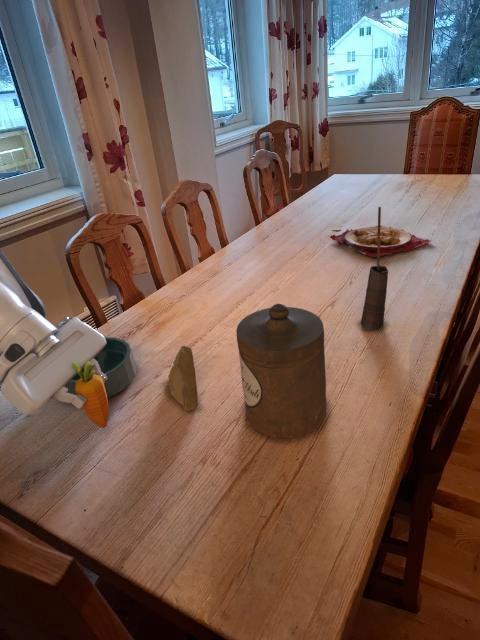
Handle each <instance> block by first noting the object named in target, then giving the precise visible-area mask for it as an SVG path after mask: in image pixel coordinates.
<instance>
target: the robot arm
mask: <svg viewBox="0 0 480 640" xmlns="http://www.w3.org/2000/svg"><path fill="white" fill-rule="evenodd" d="M105 337H106V336H104V335H103V334H102V333H100V332H99V331H97V330H96V329H94V327H92V326H90V325H89V324H87V323H86V322H84V321H82V320H80V319H79V318H78V317H76V316H64V317H63V318H61V319H60V321H58V322H56V323H55V324H54V325H53V323H51V322H50V321H49V320H48V319H47V311H46V307H45V304H44V302H43V301H42V300H41V298H40V297H39V296H38V295H37V294H36V292H34V291H33V290H32V289H31V288H30V287H29V286H28V285H27V284H26V282H25V281H24V280H23V279H22V277H21V276H20V274H19V272H17V270H16V269H15V267H14V266H13V265H12V264H11V262H10V261H9V259H8V258H7V256H6V255H5V254H4V253H3V251H2V250H1V249H0V392H1V394H2V395H3V397H4V399H6V400H7V401H8V402H9V403H10V404H11V405H12V406H13V407H15V408H16V410H18V411H19V412H20V413H21V414H22V415H25V416H34V415H36V414H37V413H38V412H39V411H40V410H41V409H42V408H43V407H44V406H45V405H46V404H47V403H48V402H49V401H51V400H52V399H53V398H54V399H55V400H57V401H58V402H62V403H67V404H72V405H73V406H74V407H76V409H78V410H79V409H82V406H83V405H84V404H85V403H86V401H87V398H86V397H84V396H83V395H82V394H81V393H80V394H79V395H74V394H70V393H67V391H68V389H66V388H65V387H64V386H65V385H66V384H67V383H68V382H69V381H70V380H71V379H72V378H73V377H74V376H75V375H76V374H77V373H78V372H77V370H76V369H75V368H74V367H73V366H72V363H73V362H75V363H76V364H77V365H78V366H79V367H80V368H81V369H83V368H85V364H86V362H87V360H88V359H90V363H91V368H90V370H91V371H95V373H94V374H95V375H99V376H101V377H102V379H103V383H104V382H105V381H106V380H107V379H108V377H107V376H106V375H105V374H103V373H102V372H101V369H100V367H99V364H98V362H97V361H96V360H95V359H94V357H95V356H96V355H97V354H98V353H99V352H100V351H101V350H102V349H103V348H104V346H105V345H106V339H105Z"/></svg>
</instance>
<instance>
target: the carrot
mask: <svg viewBox="0 0 480 640" xmlns="http://www.w3.org/2000/svg"><path fill="white" fill-rule="evenodd" d="M72 366H73V367H74V368H75V369H76V370H77V372H78V374H79V376H80V377H81V378H80V379H79V380H77V381H76V385H75V391H76V394H77V395H79V394H80V393H81V394H82V395H83V396H84V397H86V398H87V401H86V403H85V404H84V405H83V406H82V407H81V409H82V410H83V412H84V413H85V414H86V416H87V417H88V419H89V420H90V421H91V422H92V423H93V424H94V425H96V426H97V427H98V428H101V429H105V428H107V425H108V422H109V417H110V416H109V415H110V412H109V401H108V399H109V398H107V394H106V390H105V386H104V383H103V379H102V377H101V376H99V375H95V374H94V373H95V371H91V372H90V374H89V371H90V368H91V363H90V359H88V360H87V362H86V364H85V368H84V374H83V372H82V369H81V368H80V367H79V366H78V365H77V364H76V363H75V362H73V363H72Z"/></svg>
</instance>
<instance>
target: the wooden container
mask: <svg viewBox="0 0 480 640" xmlns="http://www.w3.org/2000/svg"><path fill="white" fill-rule="evenodd" d="M235 331H236V333H235V335H236V342H237V348H238V356H239V367H240V375H241V385H242V392H243V398H244V405H245V406H244V407H245V412H246V417H247V420H248V422H249V424H250V425H251V426H252V427H253V429H255V430H256V431H258V432H260V433H261V434H263V435H265V436H268V437H272V438H277V439H293V438H299V437H303V436H305V435H308V434H309V433H311V432H313V431H315V430H316V429H318V428H319V427H320V426H321V424H322V423H323V422H324V420H325V418H326V414H327V377H326V375H327V374H326V359H325V358H326V356H325V328H324V323H323V320H322V318H321V317H319V316H318V315H317V314H316V313H314V312H312V311H310V310H307V309H304V308H300V307H292V306H287V305H285V304H283V303H275V304H273V305H272V306H270V307H267V308H263V309H260V310H257V311H254V312H252V313H250V314H248V315H246V316H244V318H242V319H241V320H240V322H239V323H238V324H237V326H236V329H235Z"/></svg>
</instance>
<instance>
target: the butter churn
mask: <svg viewBox="0 0 480 640" xmlns="http://www.w3.org/2000/svg"><path fill="white" fill-rule="evenodd" d="M381 217H382V207H381V206H378V209H377V227H378V248H377V249H378V250H377V257H376V265H371V266H370V268H369V273H368V277H367V278H368V279H367V284H366V285H367V286H366V289H365V298H364V303H363V304H364V305H363V307H362V308H363V309H362V313H361V320H360V325H361V326H362V328H363V329H365V330H368V331H378V330H380V329H382V327H383V326H384V322H385V320H384V319H385V311H386V299H387V292H388V291H387V290H388V289H387V288H388V279H389V269H388V267H387V266H385V265H380V258H381V256H380V226H381V223H382V222H381V220H382V219H381Z"/></svg>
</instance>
